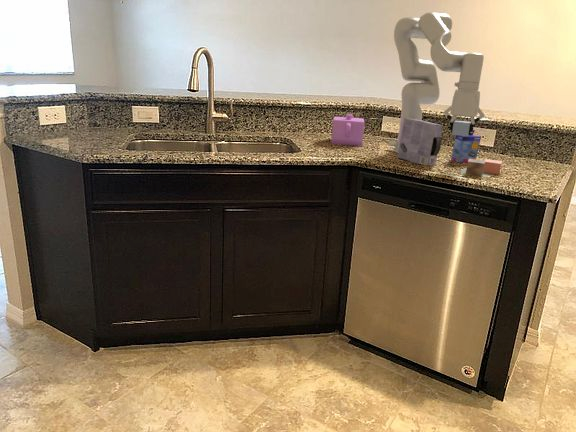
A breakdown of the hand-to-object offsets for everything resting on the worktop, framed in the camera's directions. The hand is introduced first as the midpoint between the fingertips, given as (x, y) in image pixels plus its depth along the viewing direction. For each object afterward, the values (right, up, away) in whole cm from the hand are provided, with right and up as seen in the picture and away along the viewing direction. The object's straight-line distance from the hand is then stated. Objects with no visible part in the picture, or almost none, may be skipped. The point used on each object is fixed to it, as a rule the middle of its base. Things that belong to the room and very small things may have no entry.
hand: (460, 132), depth 189 cm
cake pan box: (-14, -11, +13) cm, 22 cm away
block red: (+13, -16, +1) cm, 21 cm away
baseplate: (+4, -17, -4) cm, 18 cm away
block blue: (0, -1, 0) cm, 1 cm away
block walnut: (+4, -17, -5) cm, 18 cm away
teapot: (-40, +4, +50) cm, 64 cm away
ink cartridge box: (+8, -10, +18) cm, 22 cm away
